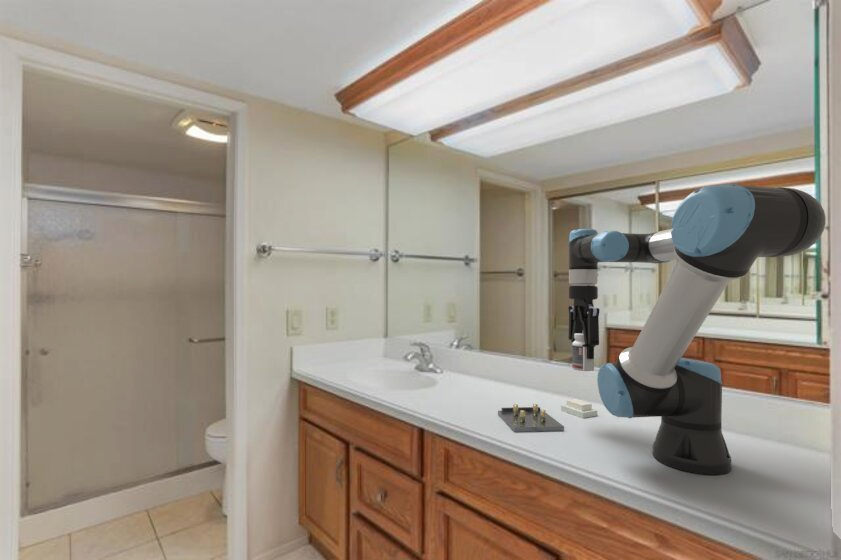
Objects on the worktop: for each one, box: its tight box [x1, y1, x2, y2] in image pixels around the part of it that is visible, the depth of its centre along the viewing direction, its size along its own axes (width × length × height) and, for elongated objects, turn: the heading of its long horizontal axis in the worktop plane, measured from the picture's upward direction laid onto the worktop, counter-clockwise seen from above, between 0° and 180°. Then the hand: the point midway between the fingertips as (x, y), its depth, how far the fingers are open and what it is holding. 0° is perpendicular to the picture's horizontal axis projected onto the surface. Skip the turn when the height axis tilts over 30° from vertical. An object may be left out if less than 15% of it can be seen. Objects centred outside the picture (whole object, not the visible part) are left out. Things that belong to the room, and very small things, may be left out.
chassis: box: [497, 403, 565, 433], centre depth 125 cm, size 16×14×4 cm
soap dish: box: [560, 398, 598, 419], centre depth 135 cm, size 9×6×3 cm, turn 26°
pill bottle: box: [571, 333, 585, 372], centre depth 120 cm, size 6×6×10 cm
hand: (582, 368), depth 120 cm, fingers closed on pill bottle, 6 cm apart
